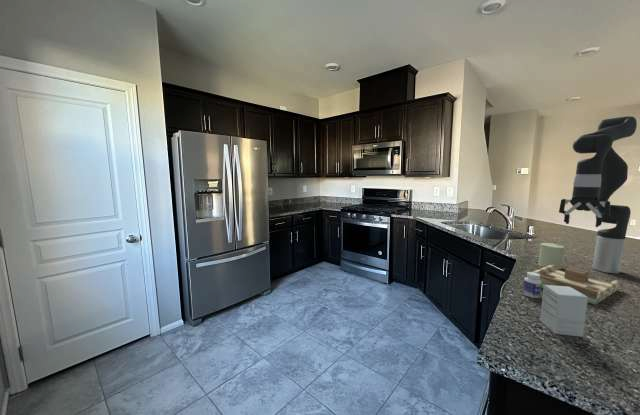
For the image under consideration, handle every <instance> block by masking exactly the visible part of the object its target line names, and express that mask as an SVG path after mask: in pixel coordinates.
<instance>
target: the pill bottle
mask: <svg viewBox="0 0 640 415" xmlns="http://www.w3.org/2000/svg"><path fill="white" fill-rule="evenodd" d="M526 272H527V271H526ZM523 279H524V280H523V285H522V286H523V288H522V294H523V295H524V296H526V297H529V298H533V299H538V298H540V297H541V290H542V288H541V281H540V280H539V279H540V274H537V273H534V272H533V271H528V272H527V277H526V276H525V277H524V278H523Z"/></svg>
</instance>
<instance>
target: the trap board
mask: <svg viewBox="0 0 640 415" xmlns="http://www.w3.org/2000/svg"><path fill="white" fill-rule="evenodd" d="M527 272H529V271H526V272H525V278H526V277H527ZM532 272H534V273H537V274H540V279H539V280H540V281H541V289H544V285H553V286H567V287H571V288H573V289H575V290H577V291H578V292H580V293H582V294H584V295H585V296H587V297H588V302H587V304H588V303H589V304H592V305H597V304H599V303H600V302H602V301H603V300H605V299H607V298H608V297H610V296H611V295H612V294H614V293H615V292H617V291H618V290H619V286H620V285H619V284H620V280H616V279H614V280H612V281H611V282H606V281H602V280H598V279H595V278H590V277H588V281H586V282H584V283H581V282H577V281H574V280H570V279H566V278H564V276H565V271H563V270H561V269H555V265H549V266H546V267H541V268H539V269H535V270H533V271H532Z"/></svg>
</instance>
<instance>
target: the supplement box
mask: <svg viewBox="0 0 640 415" xmlns="http://www.w3.org/2000/svg"><path fill="white" fill-rule="evenodd" d="M541 300H542V301H541V310H540V316H539V321H540V322H541V323H542V324H543V325H544V326H545V327H546V328H547V329H549V330H550V331H551V332H552V333H553V334H555V335H562V336H571V337H572V336H573V337H581V338H583V337H584V331H585V330H584V329H585V325H586V324H585V322H586V315H587V308H588V297H587V296H585V295H584V294H582V293H580V292H578V291H577V290H575V289H573V288H571V287H567V286H553V285H544V288H543V291H542V299H541Z"/></svg>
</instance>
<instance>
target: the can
mask: <svg viewBox="0 0 640 415" xmlns="http://www.w3.org/2000/svg"><path fill="white" fill-rule="evenodd" d="M539 248H540V250H539V256H538V263H537V265H538V266H540V267H541V268H544V267H546V266H549V265H555V269H556V270H562V269H563V268H562V266H563V265H562V263H563V256H564V249H565V246H564V245H561V244H557V243H552V242H551V243H550V242H542V243H540V247H539Z"/></svg>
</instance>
